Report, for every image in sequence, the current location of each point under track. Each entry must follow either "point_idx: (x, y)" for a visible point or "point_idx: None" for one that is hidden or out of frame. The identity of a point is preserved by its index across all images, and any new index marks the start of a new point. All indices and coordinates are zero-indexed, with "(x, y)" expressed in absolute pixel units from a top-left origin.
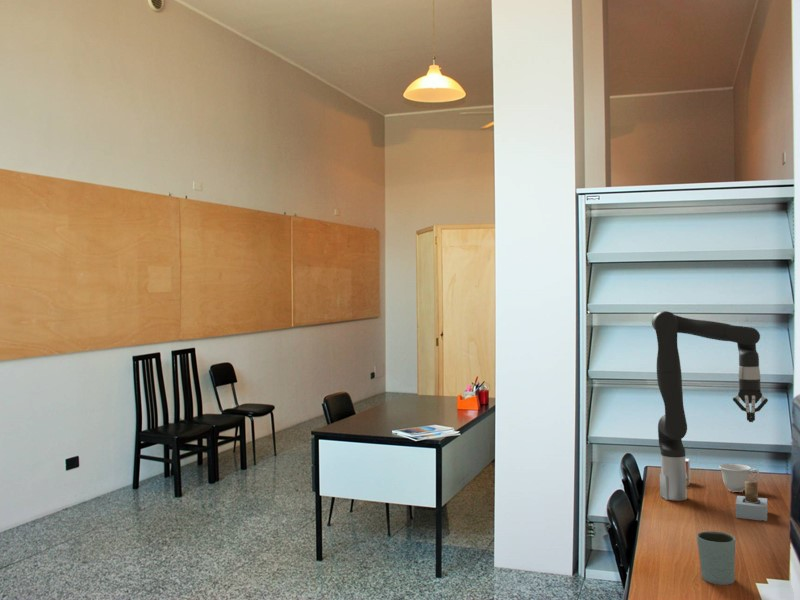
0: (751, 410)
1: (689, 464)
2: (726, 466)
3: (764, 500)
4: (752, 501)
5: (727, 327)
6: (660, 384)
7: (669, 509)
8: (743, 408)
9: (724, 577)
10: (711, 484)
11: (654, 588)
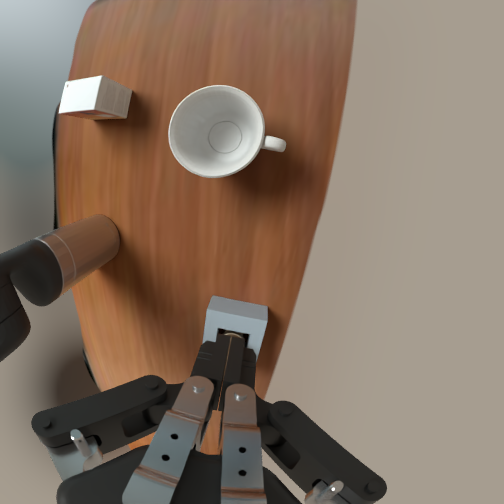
0: (221, 429)
1: (107, 87)
2: (194, 100)
3: (258, 336)
4: None
5: None
6: None
7: (105, 313)
8: (157, 424)
9: None
10: (177, 89)
11: None
